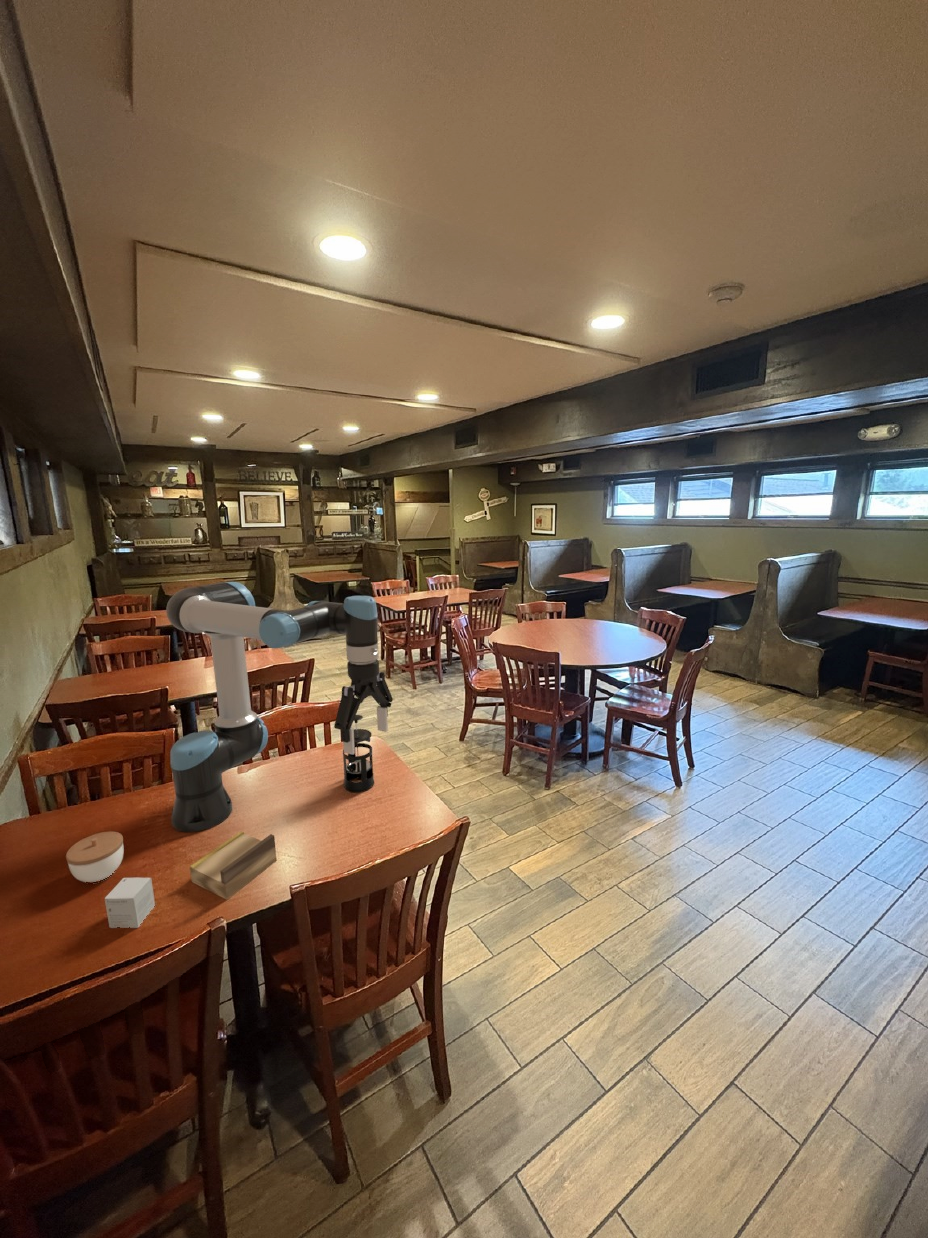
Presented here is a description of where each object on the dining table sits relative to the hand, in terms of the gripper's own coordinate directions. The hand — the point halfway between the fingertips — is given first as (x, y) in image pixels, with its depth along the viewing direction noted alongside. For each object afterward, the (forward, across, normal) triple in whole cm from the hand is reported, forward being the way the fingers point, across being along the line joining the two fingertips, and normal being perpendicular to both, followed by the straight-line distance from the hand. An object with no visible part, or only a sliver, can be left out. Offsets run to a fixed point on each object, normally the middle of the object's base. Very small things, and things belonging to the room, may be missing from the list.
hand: (366, 741), depth 122 cm
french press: (+28, +20, +20) cm, 40 cm away
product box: (+28, -43, +30) cm, 59 cm away
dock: (+28, -24, +22) cm, 43 cm away
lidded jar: (+28, -39, +50) cm, 69 cm away
